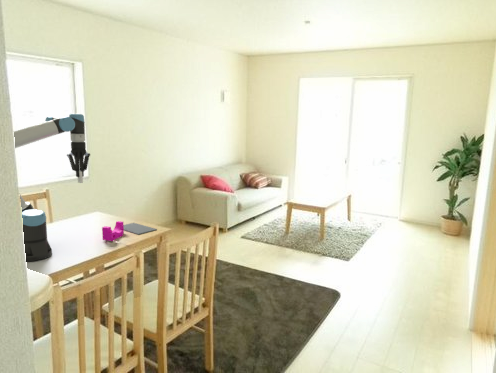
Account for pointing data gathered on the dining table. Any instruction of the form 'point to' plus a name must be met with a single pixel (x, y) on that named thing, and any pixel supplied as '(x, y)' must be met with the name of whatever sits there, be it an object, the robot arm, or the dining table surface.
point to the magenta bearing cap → (114, 234)
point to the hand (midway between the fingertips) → (80, 182)
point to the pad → (137, 228)
